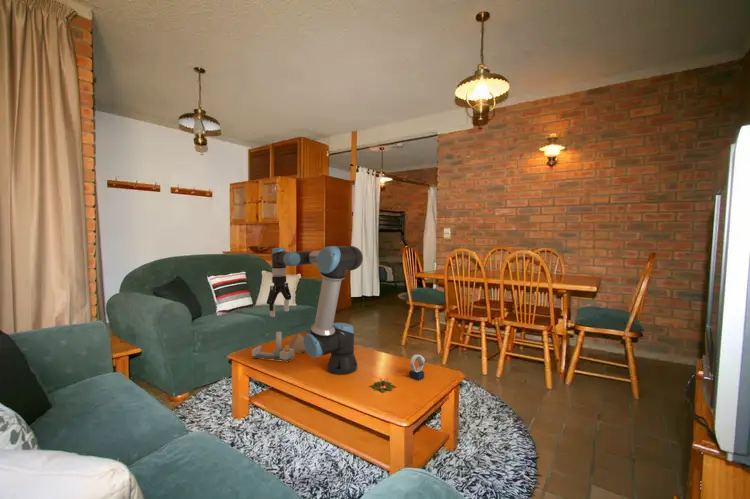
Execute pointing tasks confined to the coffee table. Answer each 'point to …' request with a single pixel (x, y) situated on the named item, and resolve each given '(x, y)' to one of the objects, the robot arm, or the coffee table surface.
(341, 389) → the coffee table surface
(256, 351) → the rail bench
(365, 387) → the coffee table surface
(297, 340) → the model pyramid
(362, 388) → the coffee table surface
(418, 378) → the watch
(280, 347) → the carriage
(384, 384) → the green leafy ornament
